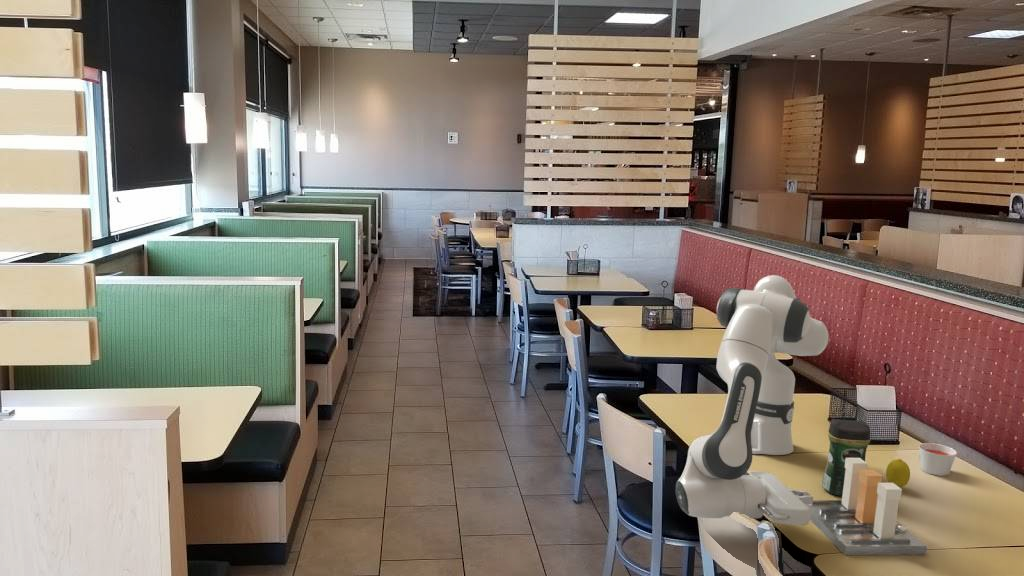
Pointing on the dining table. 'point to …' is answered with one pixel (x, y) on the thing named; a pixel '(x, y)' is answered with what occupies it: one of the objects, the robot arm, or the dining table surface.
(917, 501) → the dining table surface
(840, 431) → the coffee jar
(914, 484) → the dining table surface
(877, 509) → the cream knob right
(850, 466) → the cream knob left
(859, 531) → the console
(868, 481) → the tan tall block
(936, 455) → the white ramekin
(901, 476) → the lemon
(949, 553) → the dining table surface
